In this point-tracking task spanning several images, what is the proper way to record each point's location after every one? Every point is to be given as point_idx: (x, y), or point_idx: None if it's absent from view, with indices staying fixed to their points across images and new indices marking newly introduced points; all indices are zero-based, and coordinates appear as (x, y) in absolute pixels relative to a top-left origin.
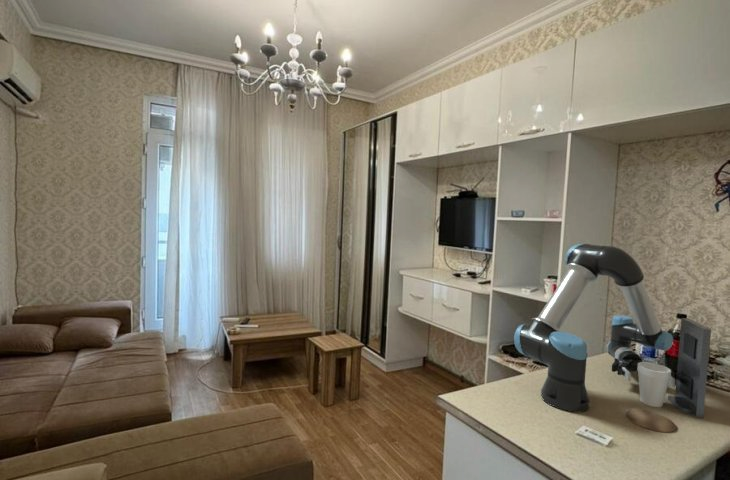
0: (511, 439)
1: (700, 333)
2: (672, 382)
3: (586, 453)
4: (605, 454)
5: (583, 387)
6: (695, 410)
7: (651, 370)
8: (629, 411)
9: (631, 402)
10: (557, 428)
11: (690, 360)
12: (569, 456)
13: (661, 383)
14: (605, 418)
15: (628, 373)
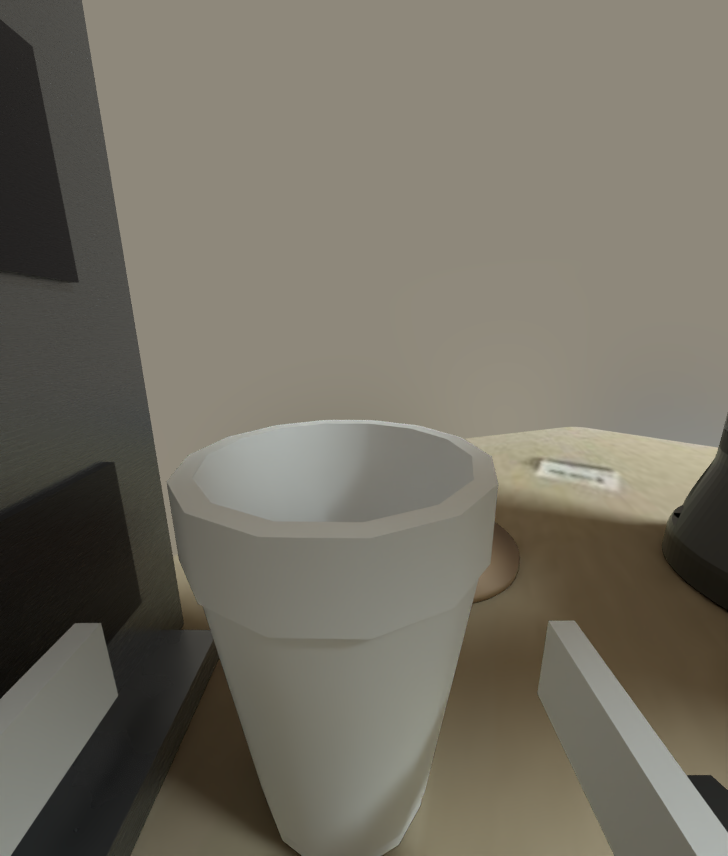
0: (697, 444)
1: (56, 1)
2: (106, 658)
3: (566, 445)
4: (537, 447)
5: (712, 465)
6: (173, 601)
7: (400, 423)
8: (505, 565)
9: (496, 700)
10: (659, 473)
11: (14, 318)
12: (587, 439)
13: (328, 509)
14: (578, 525)
15: (578, 626)
